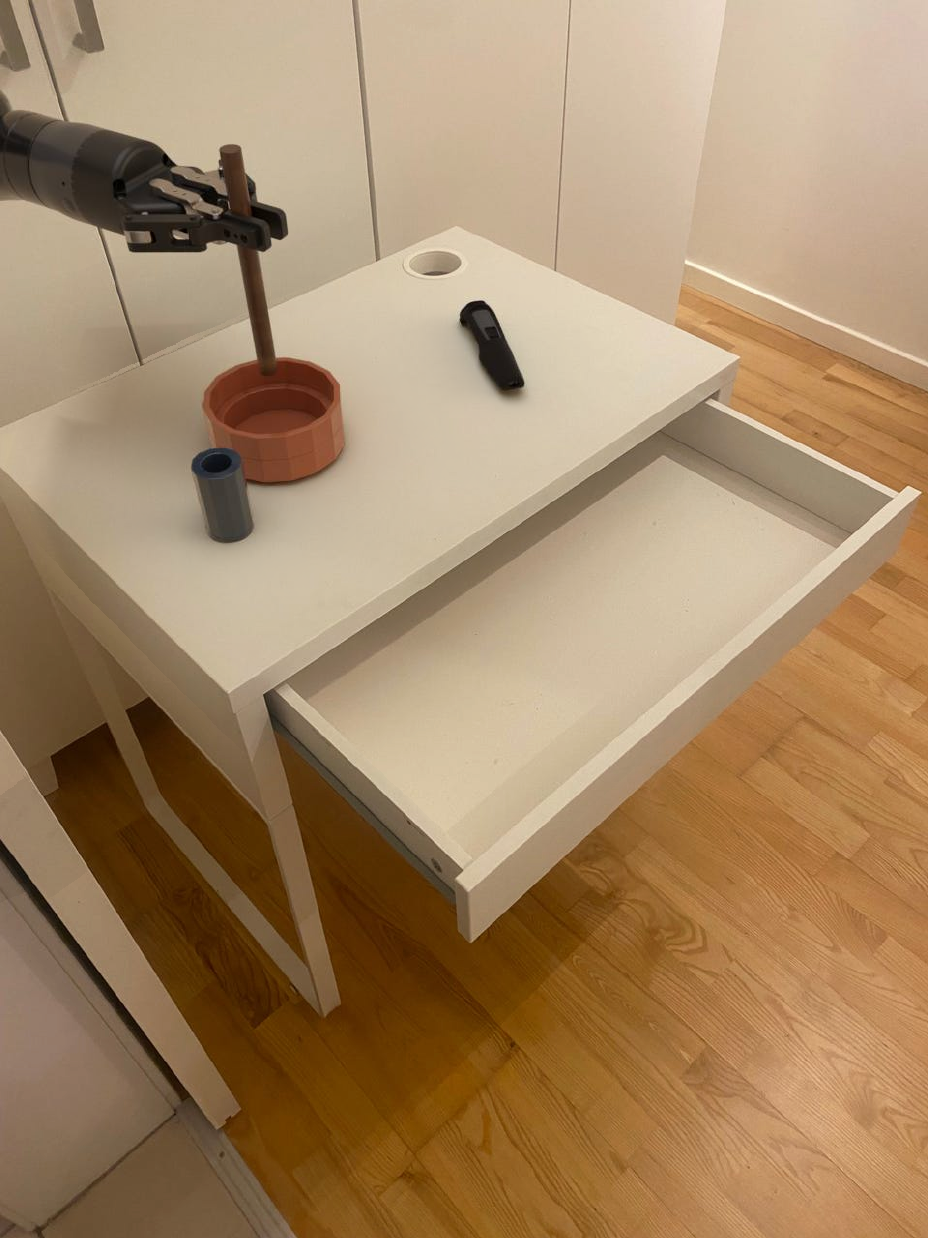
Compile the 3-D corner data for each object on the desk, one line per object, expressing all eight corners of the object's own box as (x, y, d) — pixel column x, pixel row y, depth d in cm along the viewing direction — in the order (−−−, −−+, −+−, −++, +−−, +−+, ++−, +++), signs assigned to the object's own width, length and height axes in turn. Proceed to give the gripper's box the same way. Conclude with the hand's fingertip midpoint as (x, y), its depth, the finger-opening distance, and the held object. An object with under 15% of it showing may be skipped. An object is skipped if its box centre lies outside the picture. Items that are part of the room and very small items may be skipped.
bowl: (209, 490, 86) (198, 441, 82) (217, 409, 94) (207, 360, 90) (346, 482, 87) (341, 433, 83) (343, 402, 95) (338, 354, 91)
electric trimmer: (495, 405, 95) (496, 378, 93) (456, 320, 105) (457, 294, 103) (531, 399, 96) (533, 373, 94) (489, 316, 106) (491, 290, 103)
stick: (259, 377, 84) (218, 153, 69) (259, 367, 85) (219, 144, 71) (278, 375, 84) (241, 151, 70) (277, 365, 85) (241, 142, 71)
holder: (205, 544, 81) (189, 480, 76) (208, 512, 84) (193, 448, 78) (253, 541, 81) (240, 477, 76) (255, 509, 84) (242, 445, 79)
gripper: (26, 163, 72) (210, 220, 66) (149, 102, 80) (322, 148, 74) (56, 258, 77) (228, 317, 72) (168, 192, 85) (331, 240, 80)
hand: (275, 231), depth 73 cm, fingers closed on stick, 1 cm apart
